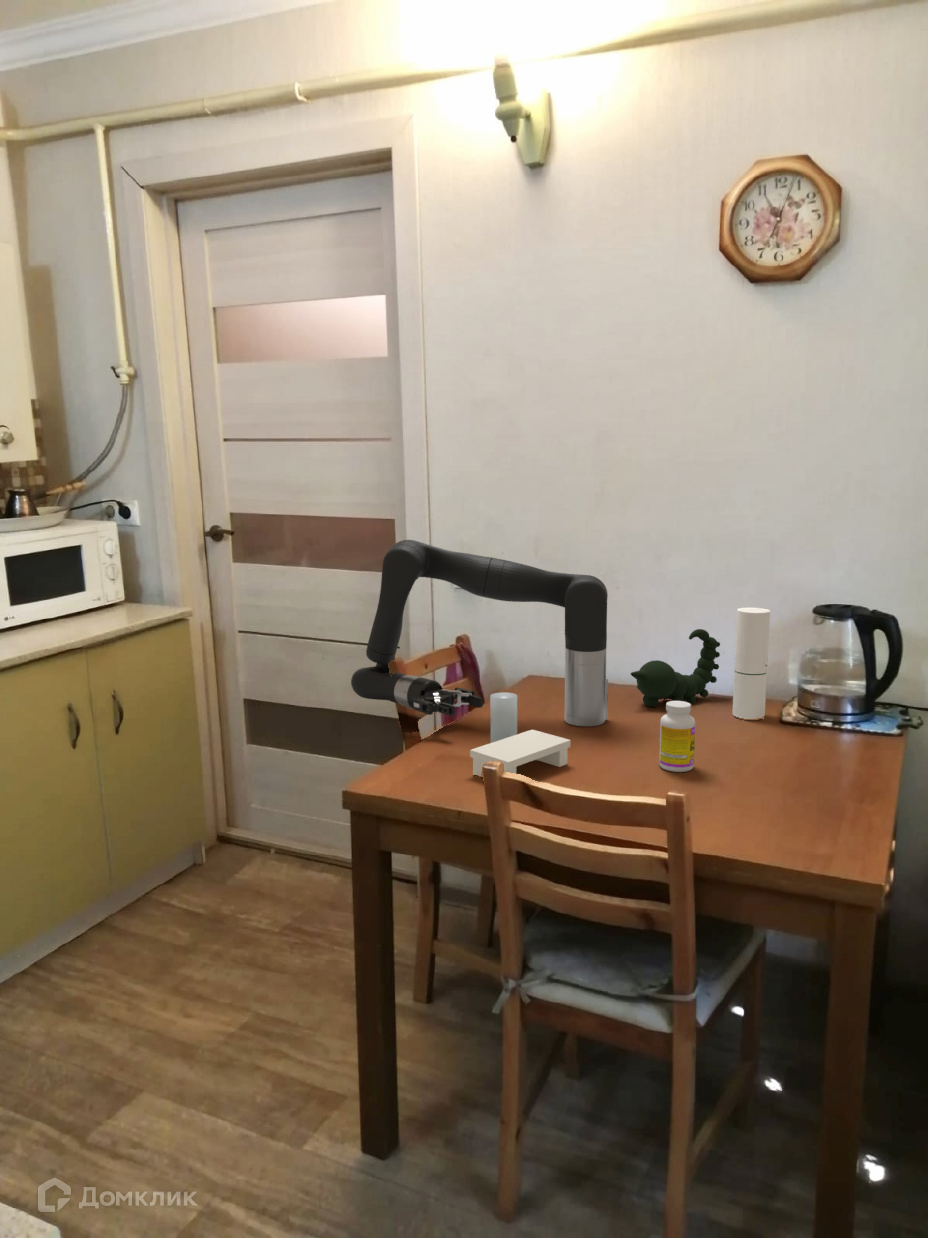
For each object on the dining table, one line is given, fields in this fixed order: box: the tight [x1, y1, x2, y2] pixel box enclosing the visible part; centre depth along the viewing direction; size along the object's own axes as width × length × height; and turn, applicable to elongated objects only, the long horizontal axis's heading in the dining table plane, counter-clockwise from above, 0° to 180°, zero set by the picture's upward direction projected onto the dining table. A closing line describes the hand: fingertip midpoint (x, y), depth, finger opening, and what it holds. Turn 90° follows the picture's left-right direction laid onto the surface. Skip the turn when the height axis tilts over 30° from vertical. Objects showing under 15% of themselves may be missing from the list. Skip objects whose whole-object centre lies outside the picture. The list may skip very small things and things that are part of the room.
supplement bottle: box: [658, 700, 696, 773], centre depth 179 cm, size 7×7×13 cm
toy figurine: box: [630, 628, 721, 708], centre depth 224 cm, size 9×19×25 cm
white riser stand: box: [469, 729, 571, 776], centre depth 179 cm, size 18×10×5 cm, turn 135°
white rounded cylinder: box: [489, 691, 518, 743], centre depth 193 cm, size 6×6×11 cm
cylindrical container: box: [731, 607, 771, 719], centre depth 211 cm, size 7×7×25 cm
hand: (468, 706), depth 200 cm, fingers open, 8 cm apart
